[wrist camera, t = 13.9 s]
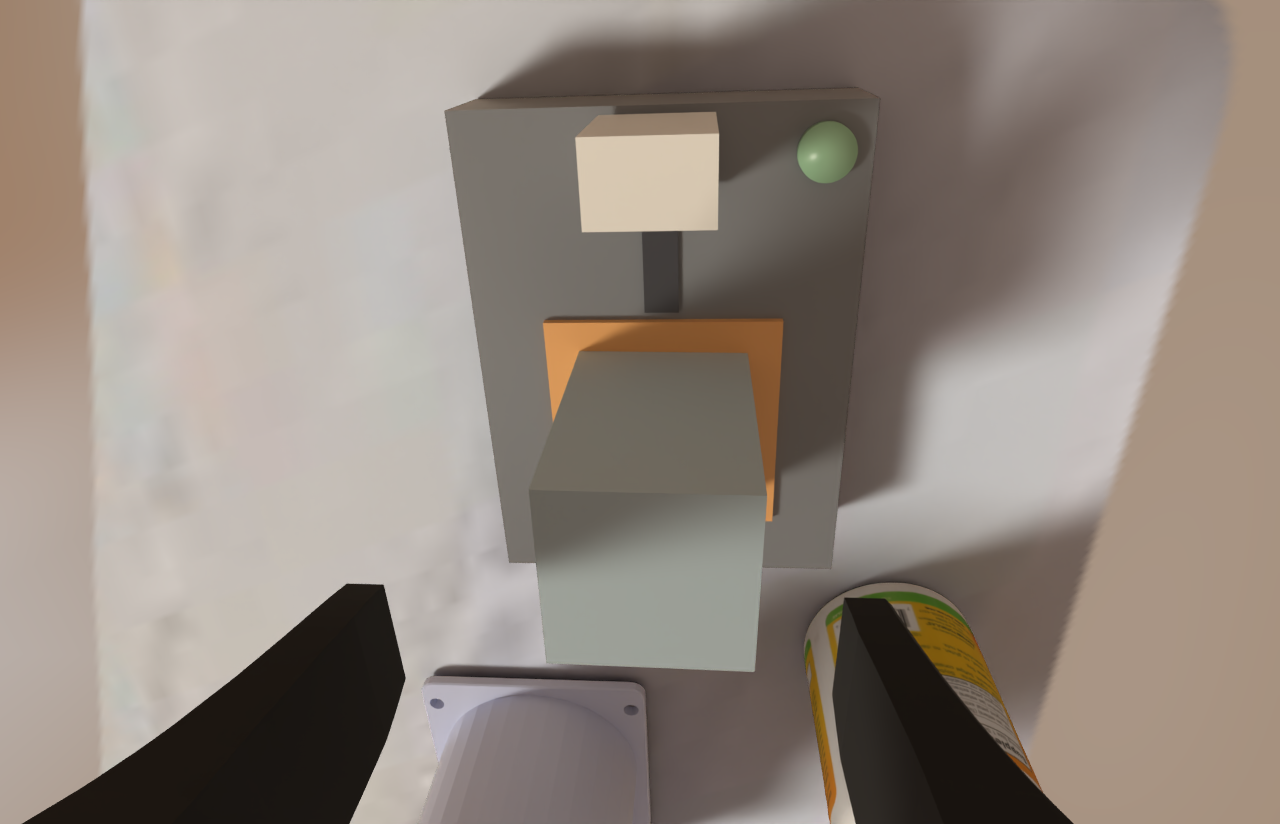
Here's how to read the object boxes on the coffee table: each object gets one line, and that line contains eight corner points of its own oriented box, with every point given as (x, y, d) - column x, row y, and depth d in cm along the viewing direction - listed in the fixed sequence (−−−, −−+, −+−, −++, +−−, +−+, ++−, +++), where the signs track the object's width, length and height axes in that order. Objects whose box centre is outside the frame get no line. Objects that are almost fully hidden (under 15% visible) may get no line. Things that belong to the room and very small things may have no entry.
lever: (714, 192, 16) (717, 230, 13) (602, 194, 16) (581, 232, 13) (716, 111, 15) (719, 133, 13) (598, 114, 16) (575, 137, 13)
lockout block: (740, 495, 20) (754, 671, 14) (587, 491, 20) (546, 663, 15) (747, 352, 18) (767, 496, 13) (578, 350, 18) (528, 490, 13)
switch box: (818, 515, 23) (832, 575, 21) (527, 511, 24) (506, 569, 21) (857, 87, 17) (883, 99, 15) (475, 99, 18) (440, 112, 16)
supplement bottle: (905, 717, 27) (1001, 1050, 18) (771, 662, 26) (806, 981, 17) (1003, 616, 24) (1167, 944, 16) (859, 551, 24) (950, 859, 15)
